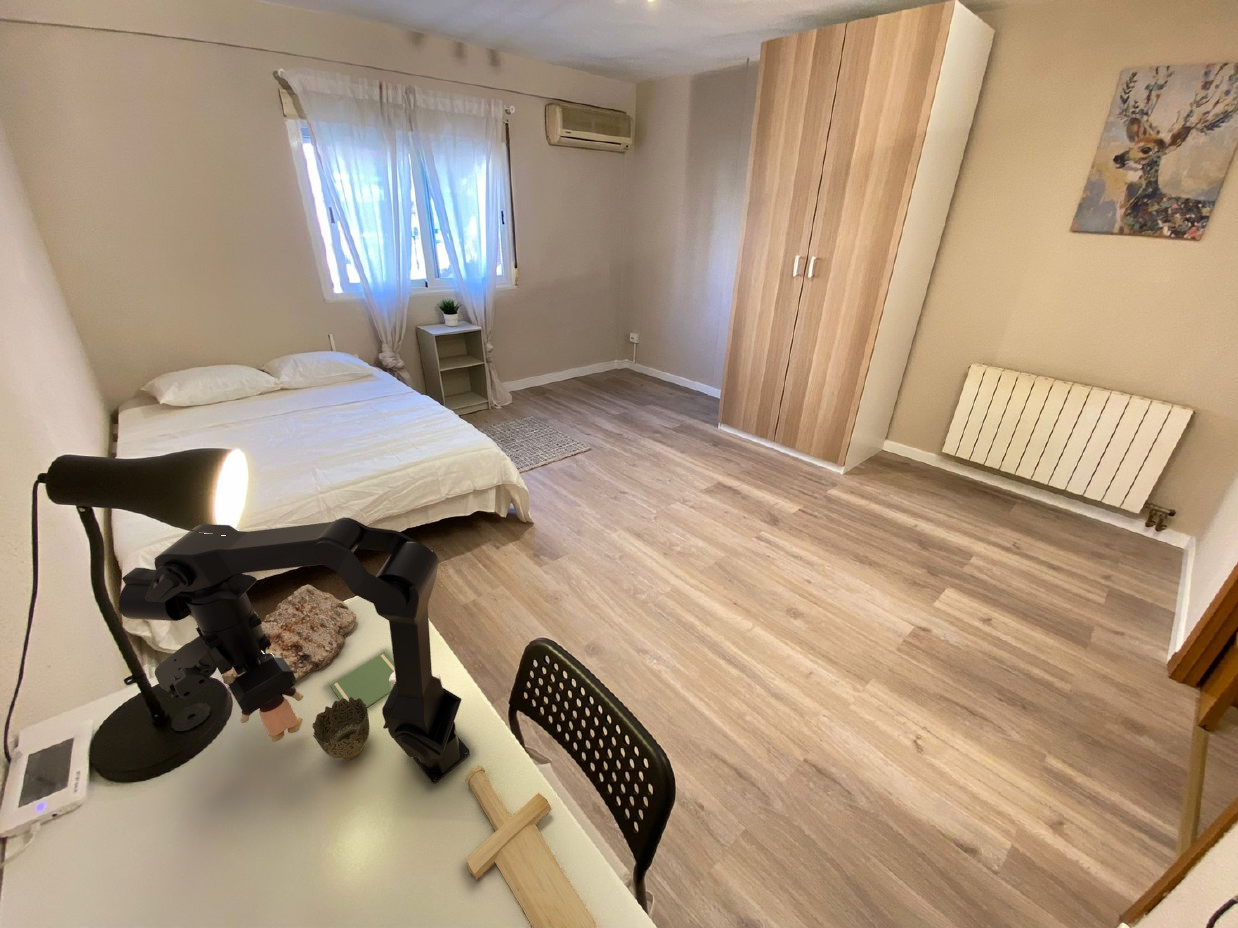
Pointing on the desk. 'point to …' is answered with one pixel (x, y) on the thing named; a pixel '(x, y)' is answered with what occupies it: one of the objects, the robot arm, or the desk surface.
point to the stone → (305, 630)
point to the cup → (342, 728)
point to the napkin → (367, 681)
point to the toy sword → (526, 860)
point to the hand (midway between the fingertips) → (264, 693)
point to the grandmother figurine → (278, 715)
